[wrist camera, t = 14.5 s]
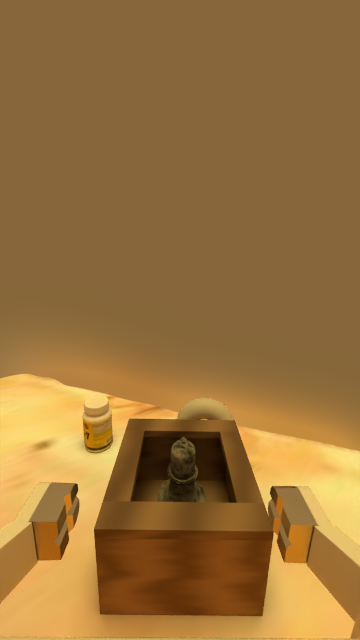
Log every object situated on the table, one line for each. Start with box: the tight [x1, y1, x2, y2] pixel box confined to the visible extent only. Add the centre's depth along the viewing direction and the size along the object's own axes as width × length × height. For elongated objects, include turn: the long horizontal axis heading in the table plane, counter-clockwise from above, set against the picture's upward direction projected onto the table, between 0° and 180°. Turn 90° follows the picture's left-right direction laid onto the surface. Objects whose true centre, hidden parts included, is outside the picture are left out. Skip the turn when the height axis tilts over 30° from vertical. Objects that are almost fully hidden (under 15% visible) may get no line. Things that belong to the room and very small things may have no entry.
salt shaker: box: [157, 437, 206, 502], centre depth 29 cm, size 6×6×12 cm
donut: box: [177, 398, 234, 420], centre depth 42 cm, size 10×4×10 cm, turn 80°
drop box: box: [94, 419, 274, 616], centre depth 29 cm, size 15×15×10 cm
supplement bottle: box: [83, 396, 113, 453], centre depth 43 cm, size 5×5×8 cm
